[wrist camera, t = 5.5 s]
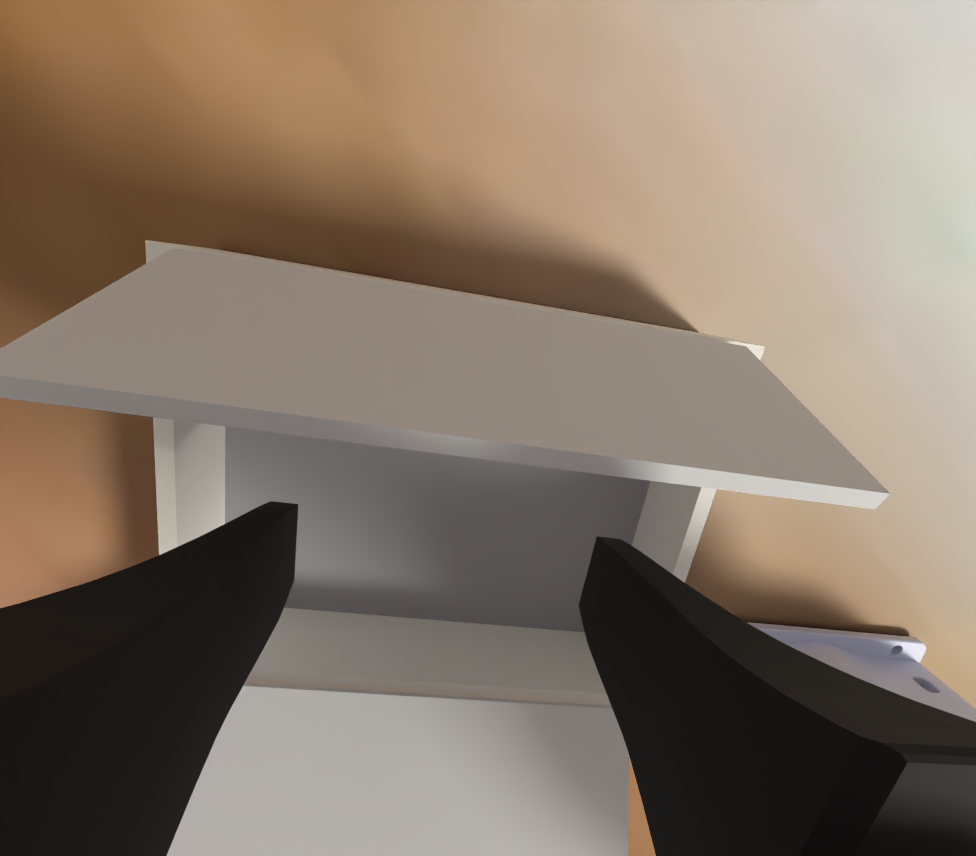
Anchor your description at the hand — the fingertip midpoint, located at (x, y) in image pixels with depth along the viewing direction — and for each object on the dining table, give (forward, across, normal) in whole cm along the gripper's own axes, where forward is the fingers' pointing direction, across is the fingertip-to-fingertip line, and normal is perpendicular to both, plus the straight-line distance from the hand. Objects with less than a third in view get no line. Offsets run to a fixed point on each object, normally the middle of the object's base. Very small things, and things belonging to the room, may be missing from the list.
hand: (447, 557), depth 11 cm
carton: (+6, 0, 0) cm, 6 cm away
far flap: (+1, 0, +9) cm, 9 cm away
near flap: (0, 0, -5) cm, 5 cm away
